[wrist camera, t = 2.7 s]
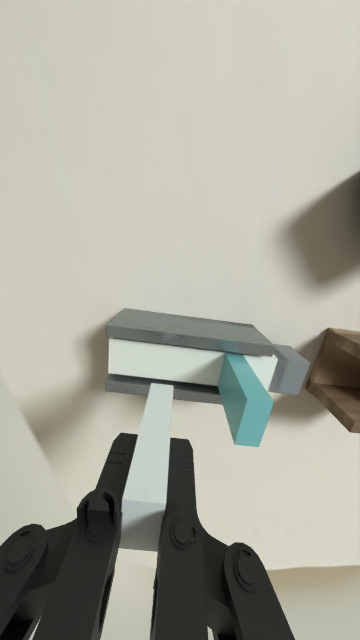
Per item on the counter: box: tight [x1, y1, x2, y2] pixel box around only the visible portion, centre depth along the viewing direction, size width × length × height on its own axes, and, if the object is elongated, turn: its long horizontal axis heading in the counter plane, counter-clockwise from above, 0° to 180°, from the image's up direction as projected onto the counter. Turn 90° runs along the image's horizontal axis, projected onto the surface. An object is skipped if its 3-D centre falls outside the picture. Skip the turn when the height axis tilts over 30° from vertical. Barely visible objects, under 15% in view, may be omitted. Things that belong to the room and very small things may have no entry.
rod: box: [108, 337, 310, 447], centre depth 16 cm, size 4×18×10 cm, turn 82°
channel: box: [105, 308, 275, 405], centre depth 19 cm, size 6×14×6 cm, turn 82°
